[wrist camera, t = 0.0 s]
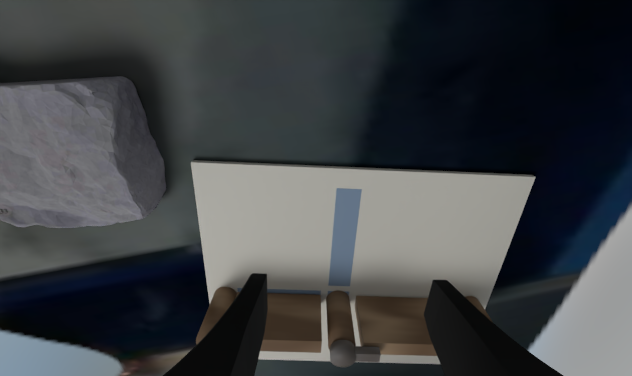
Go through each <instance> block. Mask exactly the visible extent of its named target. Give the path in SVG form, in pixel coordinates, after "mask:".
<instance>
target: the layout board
mask: <svg viewBox="0 0 632 376" xmlns="http://www.w3.org/2000/svg"><path fill="white" fill-rule="evenodd" d="M191 168H192V175H193V183H194V190H195V198H196V205H197V213H198V220H199V228H200V235H201V242H202V250H203V257H204V265H205V272H206V280H207V287H208V295H209V302H210V303H211V300H212V298H213V295H214V293H215V291H216V290H217V289H218V288H220V287H230V288H232V289H234V290H235V291H236V292H240V291H241V290H242V288H243V286H244V285H245V283H246V282H247V280H248V278H249V276H250V275H251V274H252V273H261V274H267V293H285V294H315V295H321V328H322V346H321V353H309V352H273V351H260V354H259V358H258V359H269V360H305V361H330V350H329V348H328V331H327V309H326V297H327V295H328V294H329V293H331V292H333V291H336V290H340V291H344V292H345V293H347V294H348V296H349V299H350V307H351V314H352V321H353V328H354V336H355V343H356V346H361V345H360V338H359V332H358V325H357V318H356V312H355V300H356V296H377V297H407V298H428V296H429V292H430V289H431V285H432V281H433V280H447V281H448V282H450V283H451V284H452V285H453V286H454V287H455V288H456V289H457V290H458V291H459V292H460V293H461V294H462V295H463V296H464V297H466V296H474V297H476V298H477V299H478V300H479V302H480V303H481V305H482V306H483V308H484V309H485V308H486V306H487V303H488V300H489V298H490V295H491V292H492V290H493V287H494V285H495V282H496V279H497V277H498V274H499V271H500V269H501V266H502V264H503V261H504V258H505V256H506V253H507V251H508V248H509V245H510V243H511V240H512V237H513V235H514V232H515V230H516V227H517V224H518V222H519V219H520V217H521V214H522V211H523V209H524V206H525V203H526V201H527V198H528V196H529V193H530V190H531V188H532V185H533V182H534V180H535V176H533V175H525V174H501V173H478V172H455V171H431V170H408V169H385V168H361V167H338V166H315V165H291V164H268V163H245V162H221V161H198V160H193V161H192V162H191ZM378 363H415V364H440V361H439V359H438V357H437V356H416V355H381V356H380V361H379V362H378Z"/></svg>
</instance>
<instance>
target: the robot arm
mask: <svg viewBox="0 0 632 376" xmlns="http://www.w3.org/2000/svg"><path fill="white" fill-rule="evenodd" d="M267 311H268V300H267V274H261V273H252V274H251V275H250V276H249V278H248V280H247V282H246V283H245V285H244V286H243V288H242V290H241V291H240V293H239V294H238V295H237V297H236V298H235V300H234V301H233V302H232V304H231V305H230V307H229V308H228V309H227V311H226V312H225V313H224V314H223V316H222V317H221V318H220V319H219V320H218V322H217V323H216V324H215V325H214V327H213V328H212V329H211V330H210V331H209V332H208V333H207V334H206V336H205V337H204V338H203V339H202V340H201V341H200V342H199V343H198V344H197V345H196V346H195V347H194V348H193V349H192V350H191V351H190V352H189V353H188V354H187V355H186V356H185V357H184V358H183V359H182V360H180V361H179V362H178V363H177V364H176V365H175V366H174V367H173V368H171V369H170V370H169V371H168V372H167V373H165V374H164V375H163V376H254V374H255V370H256V366H257V362H258V358H259V354H260V349H261V345H262V341H263V337H264V333H265V326H266V318H267ZM424 318H425V321H426V325H427V329H428V333H429V336H430V339H431V342H432V344H433V347H434V349H435V352H436V354H437V357H438V359H439V361H440V364H441V366H442V369H443V371H444V374H445V376H563V375H562V374H560V373H559V372H557V371H556V370H554V369H552V368H551V367H549V366H548V365H547V364H545V363H544V362H542V361H541V360H539V359H538V358H537V357H535V356H534V355H533V354H531V353H530V352H529V351H527V350H526V349H524V348H523V347H522V346H520V345H519V344H518V343H517V342H515V341H514V340H513V339H512V338H510V337H509V336H508V335H507V334H506V333H504V332H503V331H502V330H501V329H500V328H498V327H497V326H496V325H495V324H494V323H493V322H491V321H490V320H489V319H488V318H487V317H486V316H485V315H484V314H483V313H481V312H480V311H479V310H478V309H477V308H476V307H475V306H474V305H473V304H472V303H471V302H470V301H469V300H468V299H467V298H466V297H464V296H463V295H462V294H461V293H460V292H459V291H458V290H457V289H456V288H455V287H454V286H453V285H452V284H451V283H450V282H448V281H447V280H433V281H432V285H431V289H430V292H429V296H428V300H427V304H426V307H425V311H424Z"/></svg>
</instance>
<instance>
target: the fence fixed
mask: <svg viewBox="0 0 632 376" xmlns="http://www.w3.org/2000/svg"><path fill="white" fill-rule="evenodd" d="M239 293H240V292H236V291H235V290H234V289H232V288H230V287H220V288H218V289H217V290H216V291H215V293H214V295H213V298H212V300H211V303H210V305H209V308H208V310H207V313H206V315H205V318H204V321H203V323H202V326H201V328H200V331H199V333H198V336H197V338H196V343H197V344H198V343H199V342H200V341H201V340H202V339H203V338H204V337H205V336H206V334H207V333H208V332H209V331H210V330H211V329H212V328H213V327H214V325H215V324H216V323H217V322H218V320H219V319H220V318H221V317H222V316H223V314H224V313H225V312H226V311H227V309H228V308H229V307H230V305H231V304H232V302H233V301H234V300H235V298H236V297H237V295H238V294H239ZM267 300H268V311H267V318H266V326H265V333H264V337H263V341H262V345H261V349H260V351H273V352H309V353H321V346H322V328H321V295H315V294H285V293H267ZM326 309H327V331H328V348H329V350H330V346H331V344H332V343H333V342H335V341H338V340H348V341H350V342H352V343H353V344H354V346H356V343H355V336H354V328H353V321H352V314H351V307H350V299H349V296H348V294H347V293H345V292H344V291H340V290H336V291H333V292H331V293H329V294H328V295H327V297H326Z"/></svg>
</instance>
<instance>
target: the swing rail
mask: <svg viewBox="0 0 632 376" xmlns="http://www.w3.org/2000/svg"><path fill="white" fill-rule="evenodd" d="M466 298H467V299H468V300H469V301H470V302H471V303H472V304H473V305H474V306H475V307H476V308H477V309H478V310H479V311H480V312H481V313H483V314H484V315H485V316H486V317H487V318H488V319H489V320H490V321H491V322H492V320H491V319H490V317H489V316H488V314H487V312H486V311H485V309H484V308H483V306H482V305H481V303H480V302H479V300H478V299H477V298H476V297H474V296H466ZM427 300H428V298H407V297H377V296H356V300H355V312H356V318H357V325H358V332H359V338H360V345H361V346H354V344H353V343H352V342H350V341H348V340H338V341H335V342H333V343H332V344H331V346H330V361H331V363H332V364H333V365H335V366H337V367H348V366H350V365H352V364H353V363H354V362H379V361H380V356H381V355H416V356H437V354H436V352H435V349H434V347H433V344H432V342H431V339H430V336H429V333H428V329H427V325H426V321H425V318H424V311H425V307H426V304H427Z"/></svg>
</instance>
